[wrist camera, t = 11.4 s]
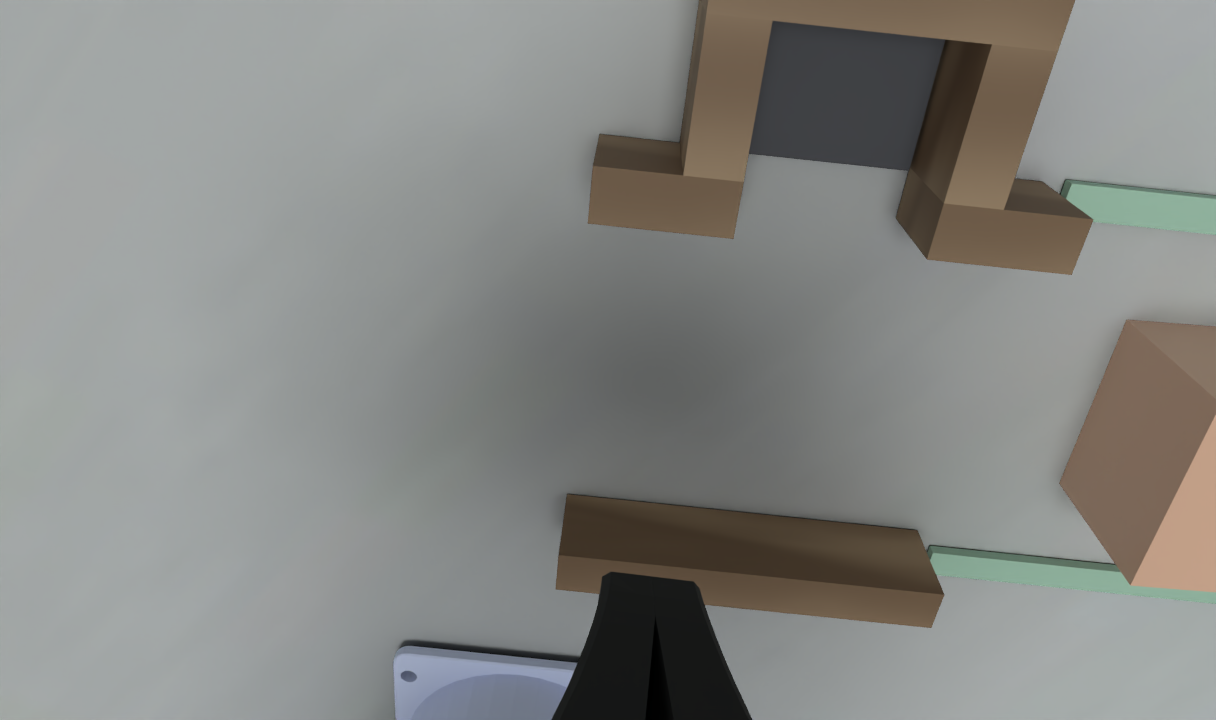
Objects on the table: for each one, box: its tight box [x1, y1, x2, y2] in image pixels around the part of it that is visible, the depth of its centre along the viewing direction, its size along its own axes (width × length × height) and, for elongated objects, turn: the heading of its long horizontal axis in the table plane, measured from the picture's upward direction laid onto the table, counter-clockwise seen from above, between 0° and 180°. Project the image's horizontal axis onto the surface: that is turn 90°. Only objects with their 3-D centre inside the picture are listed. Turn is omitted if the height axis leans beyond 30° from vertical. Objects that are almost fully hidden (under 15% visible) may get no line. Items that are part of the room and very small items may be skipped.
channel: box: [556, 0, 1094, 628], centre depth 19 cm, size 16×10×2 cm, turn 174°
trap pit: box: [749, 21, 945, 171], centre depth 18 cm, size 3×4×1 cm
